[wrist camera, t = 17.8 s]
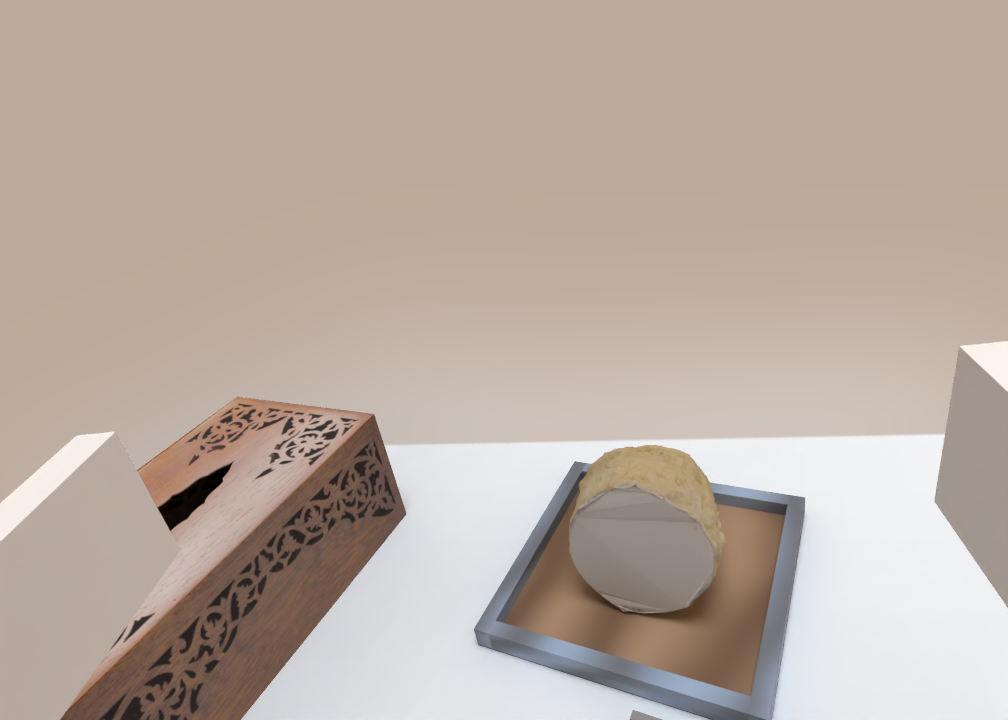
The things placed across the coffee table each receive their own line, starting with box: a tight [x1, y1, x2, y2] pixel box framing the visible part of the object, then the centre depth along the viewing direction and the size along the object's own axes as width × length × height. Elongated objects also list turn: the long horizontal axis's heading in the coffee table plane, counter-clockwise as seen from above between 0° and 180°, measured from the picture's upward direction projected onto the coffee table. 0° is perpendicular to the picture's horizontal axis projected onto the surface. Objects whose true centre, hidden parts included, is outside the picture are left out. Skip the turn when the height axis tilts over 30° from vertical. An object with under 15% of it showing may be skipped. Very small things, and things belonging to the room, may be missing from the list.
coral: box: [569, 445, 725, 613], centre depth 41 cm, size 10×10×10 cm
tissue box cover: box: [60, 397, 406, 720], centre depth 45 cm, size 26×14×10 cm, turn 154°
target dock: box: [474, 462, 805, 720], centre depth 44 cm, size 17×17×1 cm
